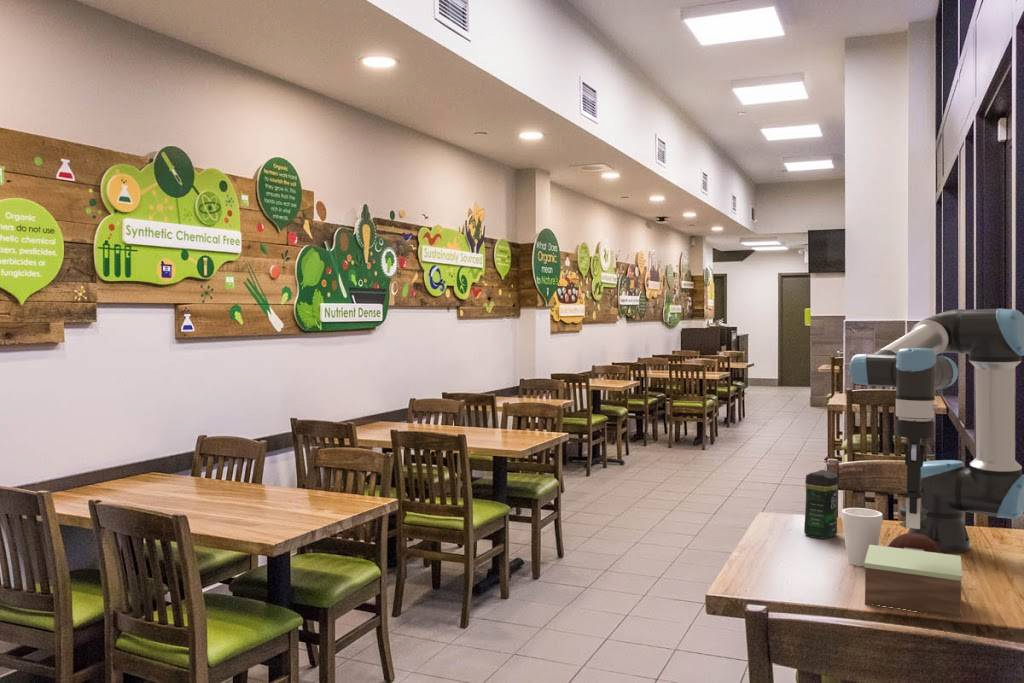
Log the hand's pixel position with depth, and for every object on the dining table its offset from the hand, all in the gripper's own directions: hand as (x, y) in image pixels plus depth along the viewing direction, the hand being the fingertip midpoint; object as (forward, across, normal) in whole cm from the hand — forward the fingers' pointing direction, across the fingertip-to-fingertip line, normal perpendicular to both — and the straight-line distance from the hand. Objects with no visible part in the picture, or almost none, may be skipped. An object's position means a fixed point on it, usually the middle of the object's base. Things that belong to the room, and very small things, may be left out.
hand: (913, 524), depth 171 cm
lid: (+9, +1, 0) cm, 9 cm away
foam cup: (+17, +25, +12) cm, 32 cm away
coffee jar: (+17, +48, +25) cm, 56 cm away
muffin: (+17, +20, 0) cm, 26 cm away
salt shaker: (+1, 0, 0) cm, 1 cm away
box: (+17, 0, 0) cm, 17 cm away
